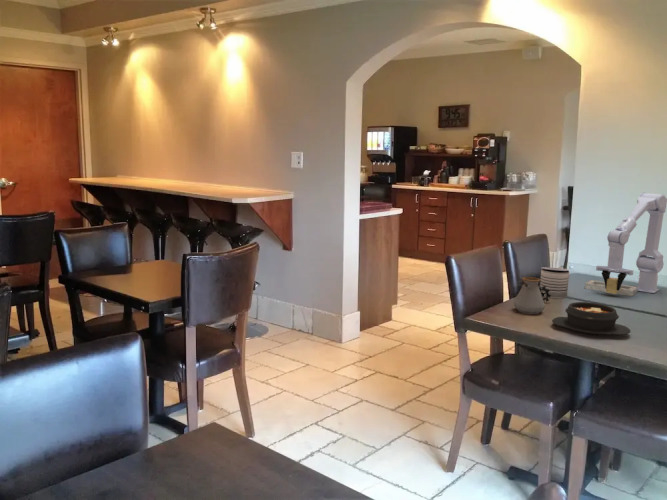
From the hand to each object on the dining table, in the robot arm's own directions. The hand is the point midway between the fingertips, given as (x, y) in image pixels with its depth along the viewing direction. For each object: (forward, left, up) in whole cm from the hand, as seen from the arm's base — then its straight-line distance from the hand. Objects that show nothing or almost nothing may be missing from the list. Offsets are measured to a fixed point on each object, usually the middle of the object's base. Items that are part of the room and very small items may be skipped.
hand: (612, 289), depth 260 cm
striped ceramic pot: (+18, -19, -3) cm, 26 cm away
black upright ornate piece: (+39, -19, -3) cm, 43 cm away
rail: (-10, -3, -3) cm, 11 cm away
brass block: (0, 0, -2) cm, 2 cm away
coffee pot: (+57, -16, -3) cm, 59 cm away
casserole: (+61, +9, -3) cm, 62 cm away
